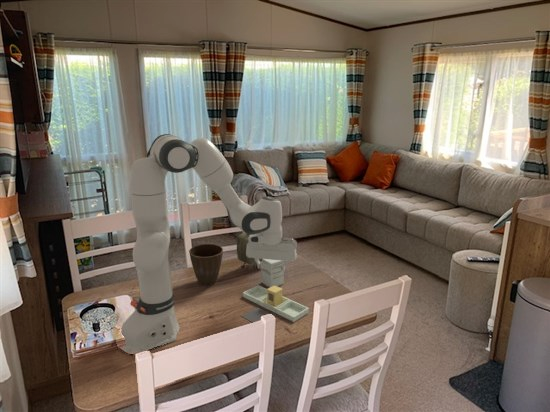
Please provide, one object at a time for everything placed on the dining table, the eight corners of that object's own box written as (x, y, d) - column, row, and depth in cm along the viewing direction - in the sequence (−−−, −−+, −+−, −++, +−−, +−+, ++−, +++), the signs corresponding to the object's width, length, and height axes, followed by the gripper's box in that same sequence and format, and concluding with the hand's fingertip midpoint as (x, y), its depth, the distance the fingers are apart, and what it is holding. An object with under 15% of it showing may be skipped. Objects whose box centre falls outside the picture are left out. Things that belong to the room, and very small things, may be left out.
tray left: (258, 305, 166) (258, 300, 166) (242, 297, 172) (242, 292, 171) (273, 297, 173) (273, 291, 172) (258, 290, 179) (258, 284, 178)
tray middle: (275, 313, 160) (275, 308, 159) (258, 305, 166) (258, 300, 165) (290, 305, 167) (290, 299, 166) (273, 297, 173) (274, 292, 172)
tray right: (294, 323, 154) (294, 317, 153) (276, 314, 160) (276, 308, 159) (308, 313, 161) (308, 308, 160) (291, 305, 167) (291, 299, 166)
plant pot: (230, 282, 186) (229, 250, 181) (204, 293, 175) (202, 259, 171) (210, 272, 195) (209, 241, 191) (184, 282, 185) (182, 250, 180)
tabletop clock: (258, 260, 209) (257, 214, 202) (270, 265, 203) (271, 218, 196) (237, 268, 199) (236, 220, 192) (249, 274, 193) (249, 225, 186)
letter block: (274, 308, 163) (274, 292, 161) (266, 304, 166) (266, 289, 164) (282, 304, 166) (282, 288, 164) (274, 300, 169) (274, 285, 167)
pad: (257, 326, 152) (257, 325, 152) (241, 317, 158) (241, 316, 157) (273, 316, 158) (273, 315, 158) (257, 308, 164) (257, 307, 164)
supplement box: (261, 283, 185) (261, 258, 181) (274, 279, 189) (274, 254, 185) (270, 289, 179) (271, 263, 175) (284, 285, 183) (284, 259, 180)
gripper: (298, 235, 161) (298, 267, 165) (248, 232, 165) (249, 263, 169) (295, 241, 155) (295, 274, 159) (244, 237, 159) (245, 269, 163)
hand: (271, 268), depth 164 cm, fingers open, 8 cm apart
